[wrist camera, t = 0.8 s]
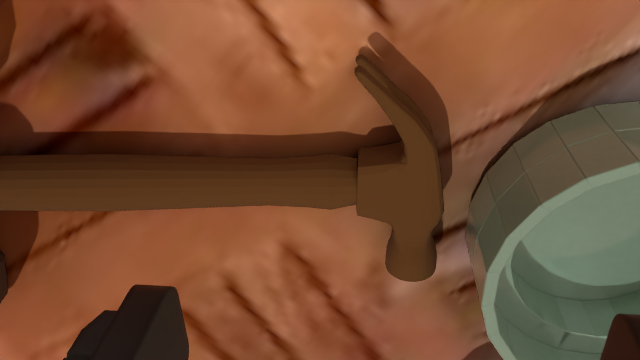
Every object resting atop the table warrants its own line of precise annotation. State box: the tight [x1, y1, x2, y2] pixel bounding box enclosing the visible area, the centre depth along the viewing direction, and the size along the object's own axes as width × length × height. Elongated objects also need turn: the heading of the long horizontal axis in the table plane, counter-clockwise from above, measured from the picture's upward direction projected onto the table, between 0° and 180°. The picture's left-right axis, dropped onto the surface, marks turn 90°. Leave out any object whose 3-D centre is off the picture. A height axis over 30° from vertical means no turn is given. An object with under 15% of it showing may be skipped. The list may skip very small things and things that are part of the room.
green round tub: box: [465, 101, 640, 360], centre depth 29 cm, size 14×14×6 cm
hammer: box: [0, 55, 444, 282], centre depth 30 cm, size 12×3×30 cm
